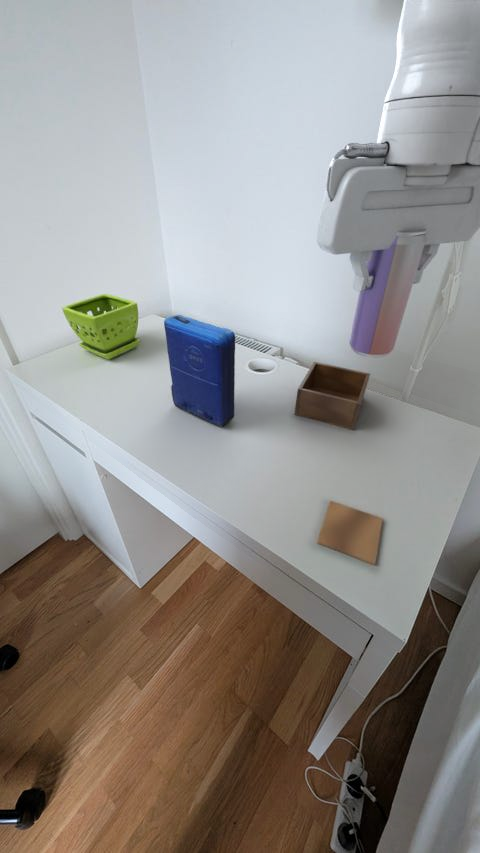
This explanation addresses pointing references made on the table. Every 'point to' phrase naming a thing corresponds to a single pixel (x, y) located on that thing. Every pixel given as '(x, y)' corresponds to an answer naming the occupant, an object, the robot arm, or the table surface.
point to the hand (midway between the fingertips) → (386, 286)
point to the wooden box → (331, 395)
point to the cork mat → (351, 532)
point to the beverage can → (386, 295)
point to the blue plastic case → (201, 368)
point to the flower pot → (104, 324)
